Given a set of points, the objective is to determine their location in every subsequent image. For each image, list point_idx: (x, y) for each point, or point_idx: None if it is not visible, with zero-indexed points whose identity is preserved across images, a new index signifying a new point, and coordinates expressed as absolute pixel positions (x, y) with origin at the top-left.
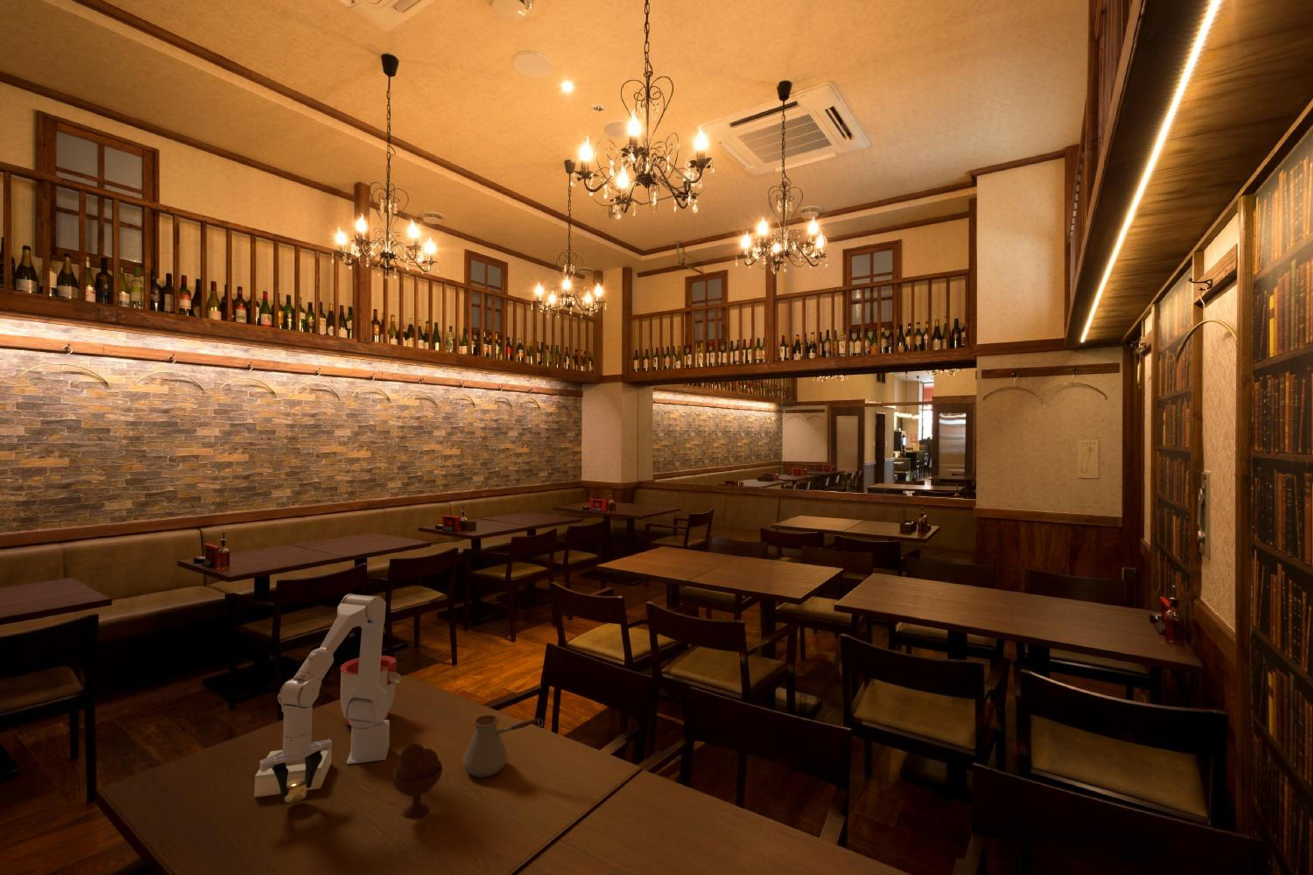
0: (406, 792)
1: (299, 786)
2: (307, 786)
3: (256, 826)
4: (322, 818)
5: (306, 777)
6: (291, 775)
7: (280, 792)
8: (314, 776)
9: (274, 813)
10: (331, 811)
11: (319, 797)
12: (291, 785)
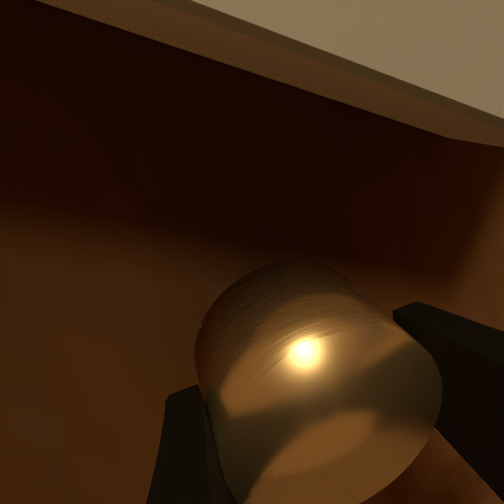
0: None
1: (356, 485)
2: None
3: (7, 487)
4: None
5: (457, 386)
6: (305, 59)
7: (165, 404)
8: (498, 136)
9: (116, 369)
10: None
11: (408, 273)
12: (290, 454)
